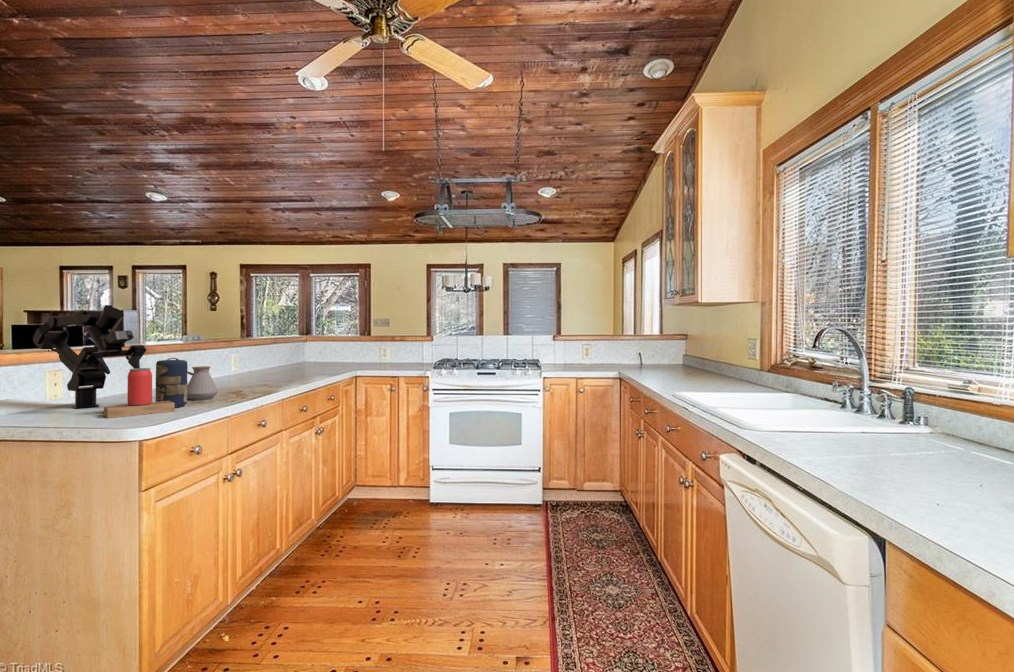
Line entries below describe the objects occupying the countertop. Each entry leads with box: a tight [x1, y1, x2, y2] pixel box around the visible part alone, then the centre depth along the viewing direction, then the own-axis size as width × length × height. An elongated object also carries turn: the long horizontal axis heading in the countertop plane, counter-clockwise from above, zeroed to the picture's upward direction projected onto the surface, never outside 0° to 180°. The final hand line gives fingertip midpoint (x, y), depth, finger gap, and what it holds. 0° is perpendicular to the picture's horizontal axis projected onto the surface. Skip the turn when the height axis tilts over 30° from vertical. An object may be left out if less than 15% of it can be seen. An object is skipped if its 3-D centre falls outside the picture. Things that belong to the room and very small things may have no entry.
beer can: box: [126, 367, 153, 406], centre depth 162 cm, size 7×7×12 cm
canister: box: [155, 357, 188, 408], centre depth 175 cm, size 10×10×18 cm
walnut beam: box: [103, 401, 176, 419], centre depth 162 cm, size 6×18×3 cm, turn 139°
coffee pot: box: [187, 366, 218, 401], centre depth 194 cm, size 21×12×15 cm, turn 98°
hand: (124, 372), depth 165 cm, fingers open, 9 cm apart
